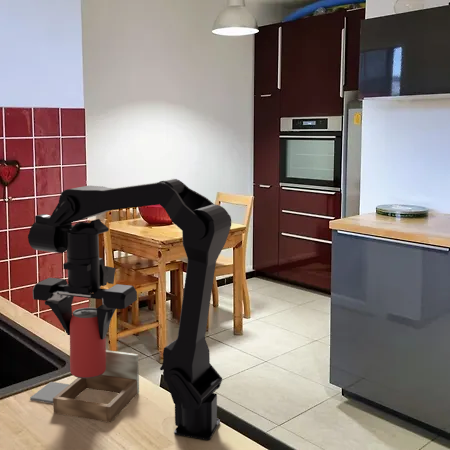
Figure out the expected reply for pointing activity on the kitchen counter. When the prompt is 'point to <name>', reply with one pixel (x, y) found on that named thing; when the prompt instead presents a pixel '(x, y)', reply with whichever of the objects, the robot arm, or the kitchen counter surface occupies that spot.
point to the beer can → (86, 345)
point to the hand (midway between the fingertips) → (86, 336)
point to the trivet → (48, 392)
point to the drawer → (102, 389)
